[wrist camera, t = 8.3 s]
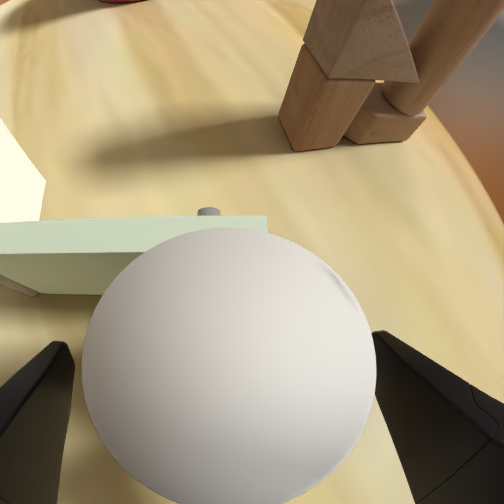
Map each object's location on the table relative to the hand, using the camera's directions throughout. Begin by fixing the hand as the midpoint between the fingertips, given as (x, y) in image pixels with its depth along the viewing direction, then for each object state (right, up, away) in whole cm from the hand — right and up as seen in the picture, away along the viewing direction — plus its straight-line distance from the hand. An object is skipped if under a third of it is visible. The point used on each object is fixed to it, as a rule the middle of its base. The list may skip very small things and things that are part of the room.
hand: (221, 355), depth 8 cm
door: (-7, +2, +9) cm, 11 cm away
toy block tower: (+8, +12, +15) cm, 21 cm away
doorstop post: (-1, -3, +8) cm, 9 cm away
